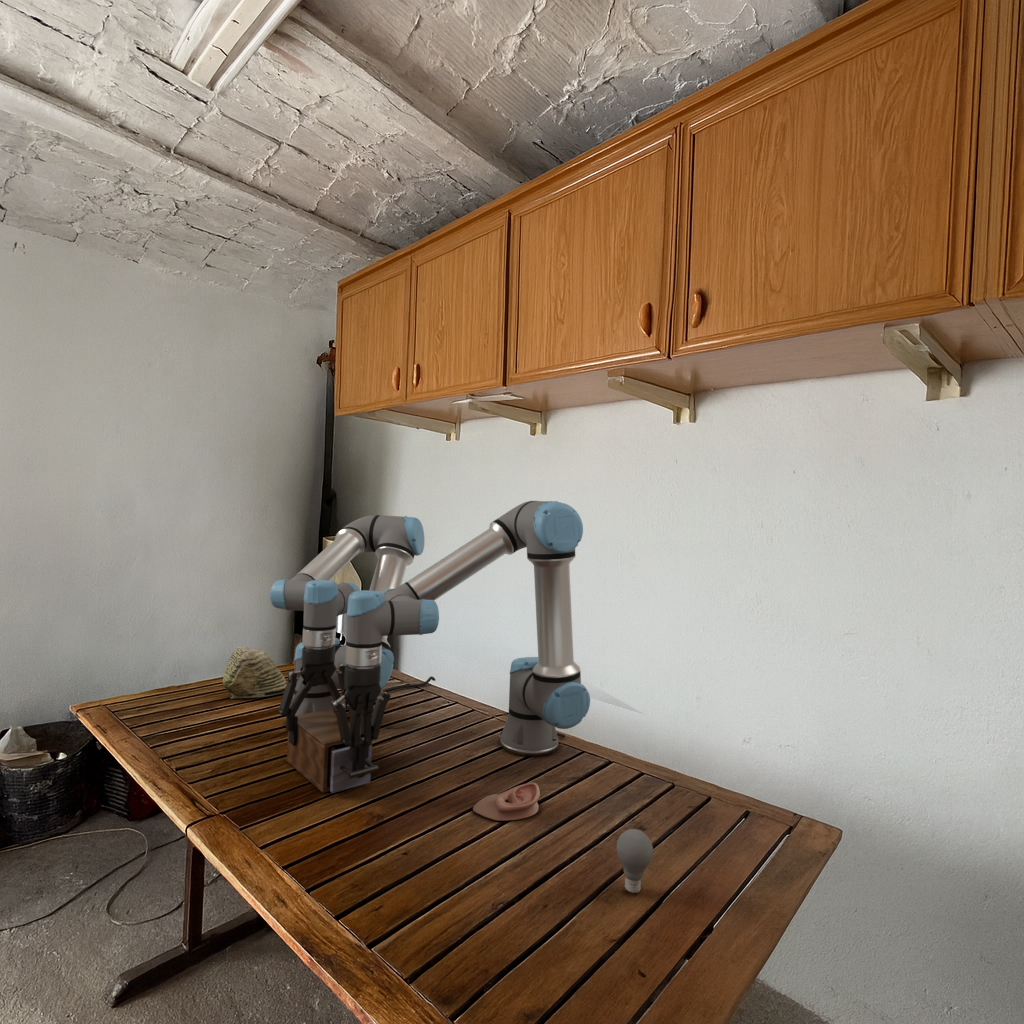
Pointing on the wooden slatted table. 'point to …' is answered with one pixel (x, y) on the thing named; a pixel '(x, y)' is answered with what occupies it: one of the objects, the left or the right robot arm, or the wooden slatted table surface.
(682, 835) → the wooden slatted table surface
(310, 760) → the cabinet
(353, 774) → the drawer
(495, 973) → the wooden slatted table surface
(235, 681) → the fossil
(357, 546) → the left robot arm
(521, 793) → the anatomical model
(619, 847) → the light bulb
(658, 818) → the wooden slatted table surface
